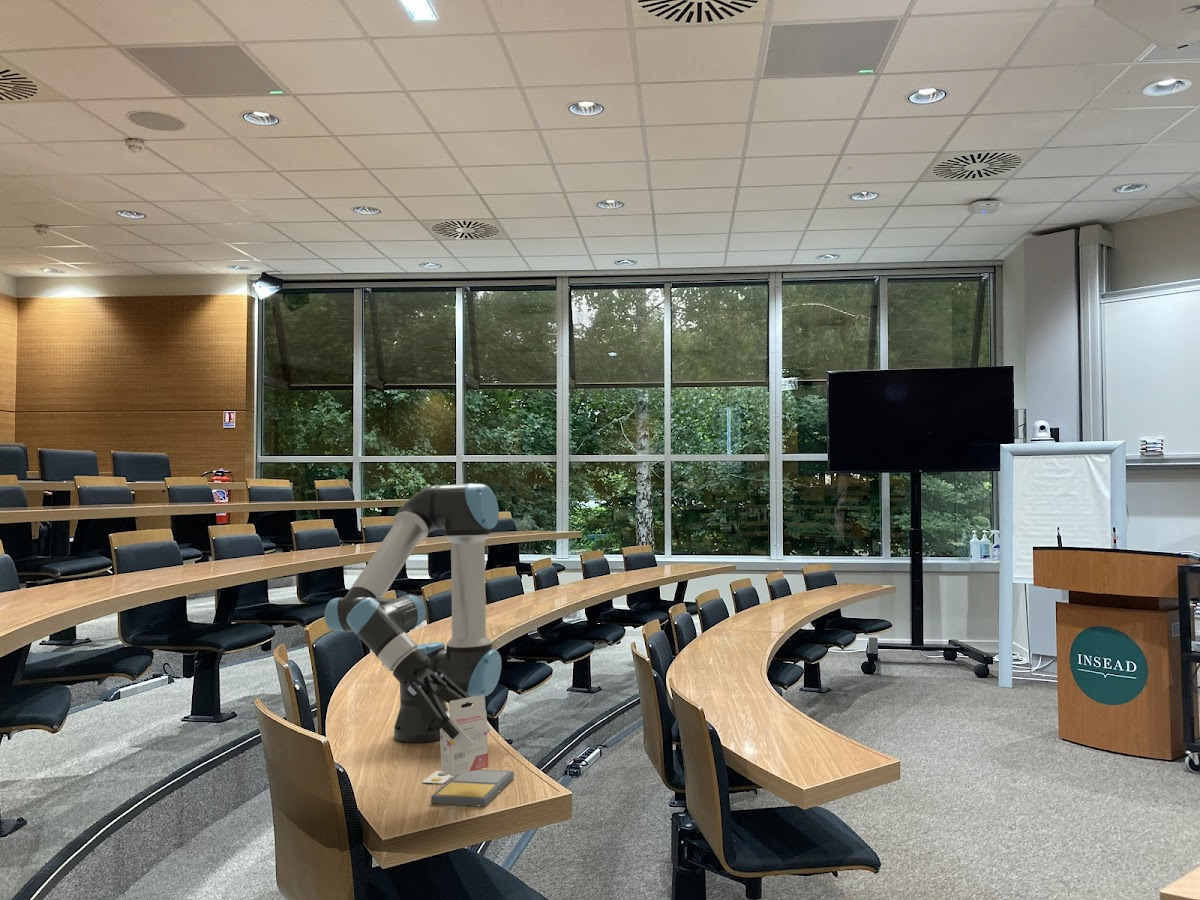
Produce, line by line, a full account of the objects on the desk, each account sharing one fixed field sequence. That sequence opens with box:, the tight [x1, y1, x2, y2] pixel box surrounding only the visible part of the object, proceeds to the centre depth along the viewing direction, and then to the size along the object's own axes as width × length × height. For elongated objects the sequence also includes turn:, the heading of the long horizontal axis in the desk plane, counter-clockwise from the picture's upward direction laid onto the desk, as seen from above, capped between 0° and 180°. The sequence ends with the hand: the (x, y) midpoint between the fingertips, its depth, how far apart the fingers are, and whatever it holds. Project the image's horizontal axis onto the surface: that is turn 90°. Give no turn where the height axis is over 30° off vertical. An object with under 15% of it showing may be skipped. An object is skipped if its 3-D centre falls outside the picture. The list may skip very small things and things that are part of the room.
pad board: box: [430, 769, 515, 807], centre depth 174 cm, size 17×12×2 cm
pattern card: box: [421, 770, 453, 785], centre depth 182 cm, size 7×5×1 cm
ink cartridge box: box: [439, 695, 489, 777], centre depth 170 cm, size 9×5×15 cm, turn 126°
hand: (478, 740), depth 169 cm, fingers closed on ink cartridge box, 9 cm apart
